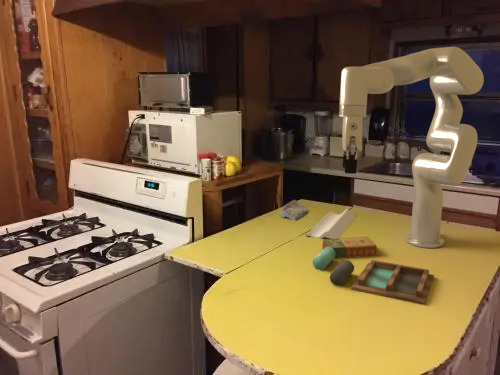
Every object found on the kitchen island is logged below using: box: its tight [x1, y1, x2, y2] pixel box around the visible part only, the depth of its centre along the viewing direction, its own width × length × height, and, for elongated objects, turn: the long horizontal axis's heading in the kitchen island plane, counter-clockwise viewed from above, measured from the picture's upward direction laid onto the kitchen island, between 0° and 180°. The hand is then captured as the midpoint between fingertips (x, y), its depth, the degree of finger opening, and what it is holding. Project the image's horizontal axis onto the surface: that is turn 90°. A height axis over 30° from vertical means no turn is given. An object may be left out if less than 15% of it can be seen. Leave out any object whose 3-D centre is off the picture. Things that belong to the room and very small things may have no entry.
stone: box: [279, 199, 308, 221], centre depth 189 cm, size 17×5×10 cm
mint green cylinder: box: [312, 247, 336, 271], centre depth 137 cm, size 9×4×4 cm, turn 151°
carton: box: [322, 236, 378, 259], centre depth 146 cm, size 8×16×4 cm, turn 95°
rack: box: [351, 259, 435, 306], centre depth 123 cm, size 18×19×2 cm
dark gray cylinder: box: [329, 259, 355, 287], centre depth 126 cm, size 9×4×4 cm, turn 151°
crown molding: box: [304, 208, 356, 240], centre depth 173 cm, size 31×12×4 cm, turn 154°
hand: (349, 170), depth 128 cm, fingers open, 9 cm apart
